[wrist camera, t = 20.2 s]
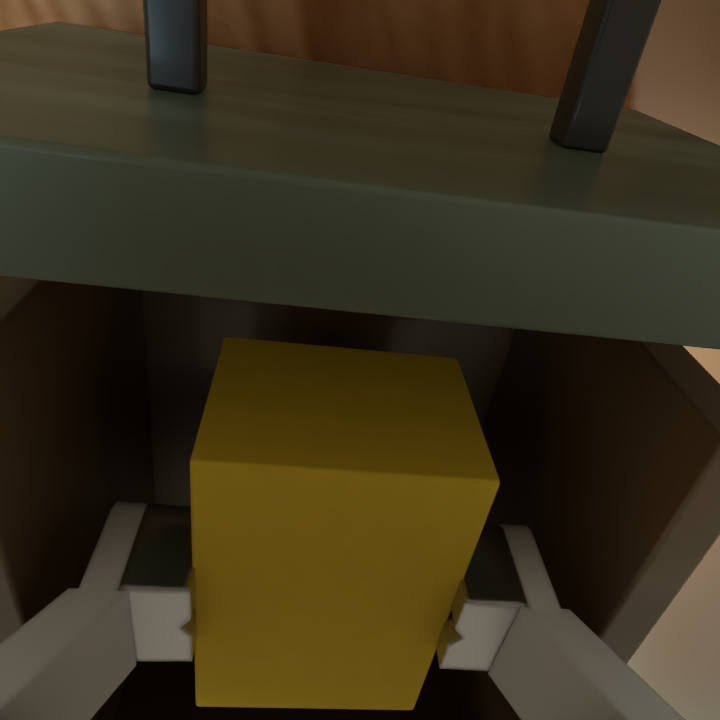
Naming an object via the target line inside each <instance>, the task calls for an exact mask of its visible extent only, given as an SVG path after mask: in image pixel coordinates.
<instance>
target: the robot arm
mask: <svg viewBox="0 0 720 720" xmlns="http://www.w3.org/2000/svg"><path fill="white" fill-rule="evenodd" d="M195 599H196V577H195V568H194V567H193V565H192V533H191V506H179V505H167V504H155V503H139V502H126V501H117V502H116V503H115V505H114V506H113V507H112V508H111V510H110V512H109V515H108V517H107V520H106V522H105V525H104V527H103V530H102V532H101V534H100V537H99V539H98V542H97V544H96V547H95V549H94V552H93V554H92V557H91V559H90V561H89V564H88V566H87V569H86V571H85V574H84V576H83V579H82V581H81V584H80V586H79V588H68V589H67V590H66V591H65V592H63V593H62V594H61V595H60V596H58V597H57V598H56V599H55V600H53V601H52V602H51V603H50V604H49V605H47V606H46V607H45V608H44V609H42V610H41V611H40V612H39V613H37V614H36V615H35V616H34V617H33V618H31V619H30V620H29V621H28V622H26V623H25V624H24V625H23V626H21V627H20V628H19V629H18V630H17V631H15V632H14V633H13V634H12V635H10V636H9V637H8V638H7V639H5V640H4V641H3V642H2V643H1V644H0V720H90V719H91V718H92V717H93V716H94V715H95V714H96V712H97V711H98V710H99V709H100V708H101V707H102V705H103V704H104V703H105V702H106V701H107V699H108V698H109V697H110V696H111V695H112V694H113V692H114V691H115V690H116V689H117V688H118V686H119V685H120V684H121V683H122V682H123V681H124V679H125V678H126V677H127V676H128V675H129V673H130V672H131V671H132V670H133V669H134V668H135V666H136V661H192V659H193V654H194V649H195V644H196V639H197V620H196V613H195V611H194V603H195ZM436 650H437V656H438V661H439V667H440V668H441V669H459V670H476V671H489V673H488V674H489V676H490V677H491V679H492V680H493V681H494V683H495V684H496V686H497V687H498V688H499V690H500V691H501V693H502V694H503V695H504V697H505V698H506V699H507V701H508V702H509V704H510V705H511V706H512V708H513V709H514V711H515V712H516V713H517V715H518V716H519V718H520V719H521V720H685V719H684V718H683V717H682V716H681V715H680V714H679V713H678V712H677V711H675V710H674V709H673V708H672V707H671V706H670V705H669V704H668V703H667V702H666V701H665V700H664V699H663V698H662V697H661V696H660V695H659V694H657V692H656V691H655V690H653V689H652V688H651V687H650V686H649V685H648V684H647V683H646V682H645V681H644V680H643V679H642V678H641V677H640V676H639V675H638V674H636V672H635V671H634V670H633V669H631V668H630V667H629V666H628V665H627V664H626V663H625V662H624V661H623V660H622V659H621V658H620V657H619V656H618V655H617V654H616V653H615V652H614V651H613V650H612V649H610V648H609V647H608V646H607V645H606V644H605V643H604V642H603V641H602V640H601V639H600V638H599V637H598V636H597V635H596V634H595V633H594V632H593V631H592V630H591V629H590V628H588V627H587V626H586V625H585V624H584V623H583V622H582V621H581V620H580V619H579V618H578V617H577V616H576V615H575V614H574V613H573V612H572V611H571V610H570V609H561V607H560V605H559V602H558V599H557V597H556V594H555V592H554V589H553V586H552V584H551V581H550V579H549V576H548V573H547V571H546V568H545V565H544V563H543V560H542V558H541V555H540V552H539V550H538V547H537V544H536V542H535V539H534V537H533V534H532V531H531V530H530V529H529V528H528V527H527V526H524V525H506V524H498V525H497V524H495V523H485V524H484V527H483V529H482V532H481V534H480V537H479V540H478V542H477V545H476V547H475V550H474V553H473V555H472V558H471V560H470V563H469V566H468V568H467V571H466V573H465V576H464V579H463V580H461V581H460V583H459V586H458V588H457V591H456V593H455V596H454V598H453V601H452V604H451V613H450V615H449V618H448V620H447V621H446V622H445V623H444V625H443V627H442V630H441V633H440V635H439V638H438V641H437V644H436Z"/></svg>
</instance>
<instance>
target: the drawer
mask: <svg viewBox="0 0 720 720" xmlns="http://www.w3.org/2000/svg"><path fill="white" fill-rule="evenodd" d="M660 3H661V0H590V2H589V5H588V8H587V11H586V15H585V18H584V21H583V24H582V28H581V31H580V34H579V38H578V41H577V44H576V47H575V51H574V54H573V57H572V60H571V64H570V67H569V70H568V73H567V77H566V80H565V83H564V86H563V90H562V93H561V96H560V98H553V97H547V96H540V95H534V94H527V93H521V92H514V91H508V90H501V89H494V88H488V87H481V86H475V85H468V84H462V83H455V82H449V81H442V80H436V79H429V78H423V77H416V76H410V75H403V74H397V73H390V72H384V71H377V70H371V69H364V68H358V67H351V66H344V65H338V64H331V63H325V62H318V61H312V60H305V59H299V58H292V57H286V56H279V55H273V54H266V53H260V52H253V51H247V50H240V49H234V48H227V47H221V46H214V45H207V0H143V14H144V33H145V35H142V34H136V33H129V32H123V31H116V30H110V29H103V28H97V27H90V26H84V25H77V24H71V23H64V22H53V23H46V24H40V25H34V26H28V27H21V28H15V29H9V30H2V31H0V644H1V643H2V642H3V641H4V640H5V639H7V638H8V637H9V636H10V635H12V634H13V633H14V632H15V631H17V630H18V629H19V628H20V627H21V626H23V625H24V624H25V623H26V622H28V621H29V620H30V619H31V618H33V617H34V616H35V615H36V614H37V613H39V612H40V611H41V610H42V609H44V608H45V607H46V606H47V605H49V604H50V603H51V602H52V601H53V600H55V599H56V598H57V597H58V596H60V595H61V594H62V593H63V592H65V591H66V590H67V589H68V588H79V586H80V584H81V581H82V579H83V576H84V574H85V571H86V569H87V566H88V564H89V561H90V559H91V557H92V554H93V552H94V549H95V547H96V544H97V542H98V539H99V537H100V534H101V532H102V530H103V527H104V525H105V522H106V520H107V517H108V515H109V512H110V510H111V508H112V507H113V506H114V505H115V503H116V502H117V501H126V502H139V503H155V504H167V505H179V506H191V491H190V459H191V456H192V452H193V448H194V445H195V441H196V438H197V434H198V430H199V427H200V423H201V420H202V416H203V412H204V409H205V405H206V402H207V398H208V395H209V391H210V387H211V384H212V380H213V377H214V373H215V369H216V366H217V362H218V359H219V355H220V351H221V348H222V344H223V341H224V338H225V337H235V338H246V339H256V340H267V341H278V342H288V343H299V344H310V345H320V346H331V347H342V348H352V349H363V350H374V351H384V352H395V353H406V354H416V355H427V356H438V357H448V358H456V359H457V360H458V363H459V366H460V368H461V371H462V374H463V377H464V380H465V383H466V386H467V388H468V391H469V394H470V397H471V400H472V403H473V406H474V408H475V411H476V414H477V417H478V420H479V423H480V426H481V428H482V431H483V434H484V437H485V440H486V443H487V446H488V449H489V451H490V454H491V457H492V460H493V463H494V466H495V469H496V471H497V474H498V477H499V480H500V485H499V488H498V490H497V493H496V495H495V498H494V501H493V503H492V506H491V508H490V511H489V514H488V516H487V519H486V521H485V523H495V524H497V525H498V524H506V525H524V526H527V527H528V528H529V529H530V530H531V531H532V534H533V537H534V539H535V542H536V544H537V547H538V550H539V552H540V555H541V558H542V560H543V563H544V565H545V568H546V571H547V573H548V576H549V579H550V581H551V584H552V586H553V589H554V592H555V594H556V597H557V599H558V602H559V605H560V607H561V609H570V610H571V611H572V612H573V613H574V614H575V615H576V616H577V617H578V618H579V619H580V620H581V621H582V622H583V623H584V624H585V625H586V626H587V627H588V628H590V629H591V630H592V631H593V632H594V633H595V634H596V635H597V636H598V637H599V638H600V639H601V640H602V641H603V642H604V643H605V644H606V645H607V646H608V647H609V648H610V649H612V650H613V651H614V652H615V653H616V654H617V655H618V656H619V657H620V658H621V659H622V660H623V661H624V662H625V663H626V664H627V663H628V661H629V660H630V659H631V657H632V656H633V654H634V653H635V652H636V650H637V649H638V648H639V646H640V644H641V643H642V642H643V641H644V639H645V638H646V636H647V635H648V633H649V632H650V631H651V629H652V628H653V627H654V625H655V624H656V623H657V621H658V620H659V618H660V617H661V615H662V614H663V613H664V611H665V610H666V609H667V607H668V606H669V605H670V603H671V602H672V600H673V599H674V598H675V596H676V595H677V593H678V592H679V591H680V589H681V588H682V587H683V585H684V584H685V582H686V581H687V580H688V578H689V577H690V575H691V574H692V573H693V571H694V570H695V568H696V567H697V566H698V564H699V563H700V562H701V560H702V559H703V557H704V556H705V555H706V553H707V552H708V550H709V549H710V548H711V546H712V545H713V544H714V542H715V541H716V539H717V538H718V537H719V535H720V384H719V383H718V382H717V381H716V380H715V379H714V378H713V377H712V376H711V375H710V374H709V373H708V372H707V371H706V370H705V369H704V368H703V366H701V364H700V363H698V361H697V360H696V359H695V358H694V357H693V356H692V355H691V354H690V353H689V352H688V351H687V350H686V349H685V348H684V347H683V346H692V347H703V348H712V349H720V146H719V145H716V144H714V143H712V142H709V141H707V140H704V139H702V138H700V137H697V136H695V135H693V134H690V133H688V132H686V131H683V130H681V129H679V128H676V127H674V126H672V125H669V124H667V123H664V122H662V121H660V120H657V119H655V118H653V117H650V116H648V115H645V114H643V113H641V112H638V111H636V110H631V109H625V108H622V107H623V104H624V102H625V99H626V96H627V93H628V91H629V88H630V85H631V82H632V80H633V77H634V74H635V71H636V69H637V66H638V63H639V60H640V58H641V55H642V52H643V49H644V47H645V44H646V41H647V38H648V36H649V33H650V30H651V27H652V25H653V22H654V19H655V16H656V13H657V11H658V8H659V5H660ZM682 345H683V346H682ZM488 673H489V671H476V670H459V669H441V668H440V667H439V661H438V656H437V650H436V652H435V654H434V657H433V659H432V662H431V665H430V667H429V670H428V672H427V675H426V678H425V680H424V683H423V685H422V688H421V691H420V693H419V696H418V698H417V701H416V704H415V706H414V709H413V710H375V709H316V708H257V707H199V706H196V697H195V656H194V654H193V659H192V661H136V666H135V668H134V669H133V670H132V671H131V672H130V673H129V675H128V676H127V677H126V678H125V679H124V681H123V682H122V683H121V684H120V685H119V686H118V688H117V689H116V690H115V691H114V692H113V694H112V695H111V696H110V697H109V698H108V699H107V701H106V702H105V703H104V704H103V705H102V707H101V708H100V709H99V710H98V711H97V712H96V714H95V715H94V716H93V717H92V718H91V719H90V720H521V719H520V718H519V716H518V715H517V713H516V712H515V711H514V709H513V708H512V706H511V705H510V704H509V702H508V701H507V699H506V698H505V697H504V695H503V694H502V693H501V691H500V690H499V688H498V687H497V686H496V684H495V683H494V681H493V680H492V679H491V677H490V676H489V674H488Z"/></svg>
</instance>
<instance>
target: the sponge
mask: <svg viewBox="0 0 720 720" xmlns="http://www.w3.org/2000/svg"><path fill="white" fill-rule="evenodd" d="M499 485H500V480H499V477H498V474H497V471H496V469H495V466H494V463H493V460H492V457H491V454H490V451H489V449H488V446H487V443H486V440H485V437H484V434H483V431H482V428H481V426H480V423H479V420H478V417H477V414H476V411H475V408H474V406H473V403H472V400H471V397H470V394H469V391H468V388H467V386H466V383H465V380H464V377H463V374H462V371H461V368H460V366H459V363H458V360H457V359H456V358H448V357H438V356H427V355H416V354H406V353H395V352H384V351H374V350H363V349H352V348H342V347H331V346H320V345H310V344H299V343H288V342H278V341H267V340H256V339H246V338H235V337H225V338H224V341H223V344H222V348H221V351H220V355H219V359H218V362H217V366H216V369H215V373H214V377H213V380H212V384H211V387H210V391H209V395H208V398H207V402H206V405H205V409H204V412H203V416H202V420H201V423H200V427H199V430H198V434H197V438H196V441H195V445H194V448H193V452H192V456H191V459H190V491H191V533H192V565H193V567H194V568H195V577H196V599H195V603H194V611H195V613H196V620H197V639H196V644H195V649H194V656H195V697H196V706H199V707H257V708H316V709H375V710H413V709H414V706H415V704H416V701H417V698H418V696H419V693H420V691H421V688H422V685H423V683H424V680H425V678H426V675H427V672H428V670H429V667H430V665H431V662H432V659H433V657H434V654H435V652H436V644H437V641H438V638H439V635H440V633H441V630H442V627H443V625H444V623H445V622H446V621H447V620H448V618H449V615H450V613H451V604H452V601H453V598H454V596H455V593H456V591H457V588H458V586H459V583H460V581H461V580H463V579H464V576H465V573H466V571H467V568H468V566H469V563H470V560H471V558H472V555H473V553H474V550H475V547H476V545H477V542H478V540H479V537H480V534H481V532H482V529H483V527H484V524H485V521H486V519H487V516H488V514H489V511H490V508H491V506H492V503H493V501H494V498H495V495H496V493H497V490H498V488H499Z"/></svg>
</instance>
